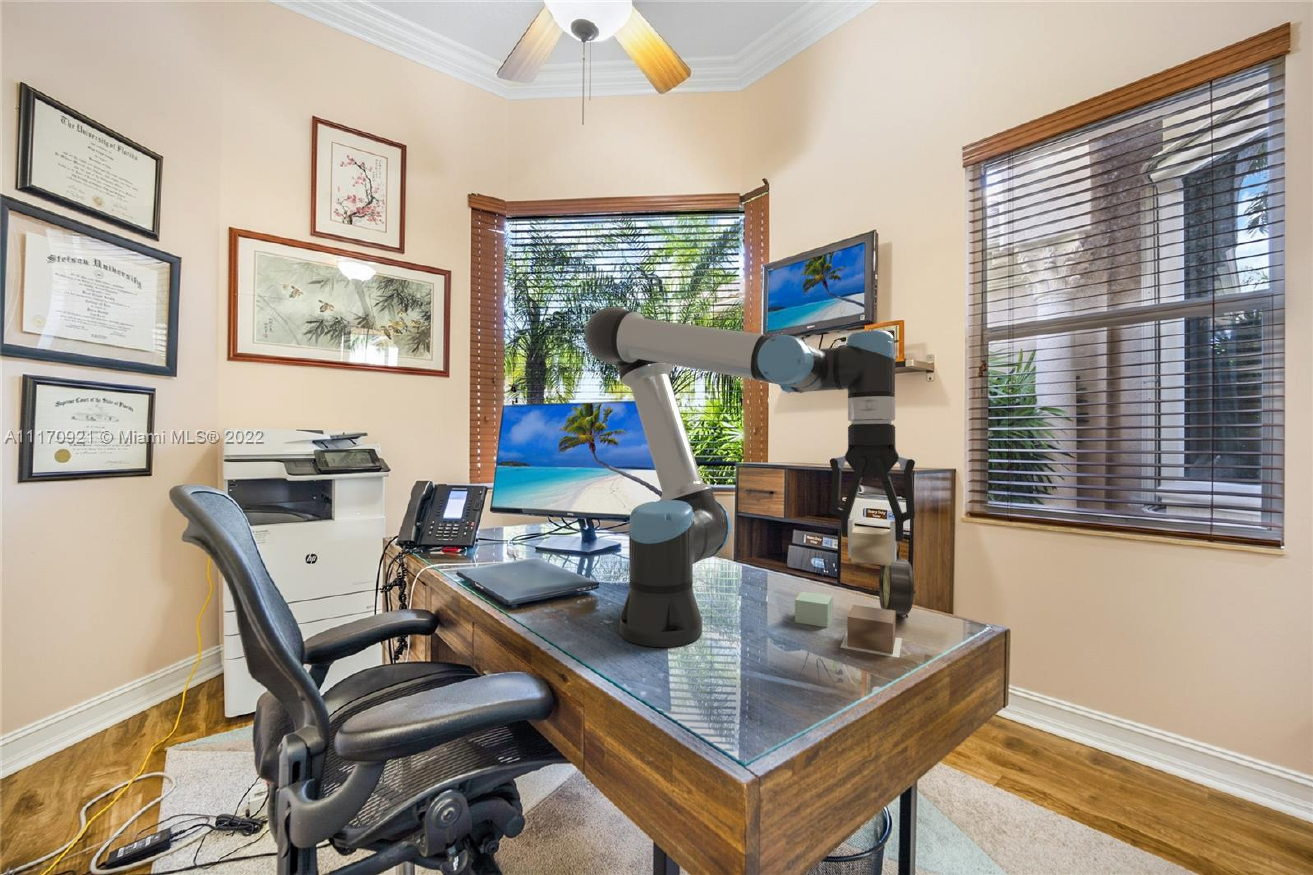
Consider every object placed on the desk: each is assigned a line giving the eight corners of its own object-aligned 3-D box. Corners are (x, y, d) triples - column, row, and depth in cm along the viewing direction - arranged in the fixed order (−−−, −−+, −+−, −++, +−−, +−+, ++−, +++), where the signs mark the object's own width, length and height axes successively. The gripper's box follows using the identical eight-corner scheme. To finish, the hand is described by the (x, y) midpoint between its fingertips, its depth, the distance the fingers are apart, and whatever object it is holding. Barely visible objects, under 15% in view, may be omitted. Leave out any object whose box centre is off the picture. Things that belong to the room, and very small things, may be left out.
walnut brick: (847, 646, 89) (847, 616, 89) (852, 632, 96) (853, 604, 95) (892, 654, 86) (892, 623, 86) (895, 639, 92) (895, 610, 92)
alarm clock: (877, 608, 110) (877, 531, 110) (905, 610, 109) (905, 532, 109) (887, 627, 100) (888, 541, 100) (918, 629, 99) (919, 542, 98)
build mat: (840, 650, 89) (840, 647, 89) (847, 632, 97) (847, 629, 97) (899, 661, 85) (899, 657, 85) (902, 641, 93) (902, 638, 93)
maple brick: (851, 561, 89) (851, 532, 89) (855, 554, 95) (855, 526, 95) (890, 565, 87) (889, 535, 87) (892, 558, 92) (892, 529, 92)
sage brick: (794, 625, 101) (795, 599, 101) (801, 616, 106) (801, 591, 106) (827, 631, 98) (827, 604, 98) (832, 621, 103) (833, 595, 103)
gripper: (810, 423, 92) (810, 557, 92) (933, 421, 83) (934, 569, 83) (818, 424, 98) (819, 548, 98) (933, 422, 90) (934, 559, 90)
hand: (872, 557), depth 91 cm, fingers closed on maple brick, 6 cm apart
